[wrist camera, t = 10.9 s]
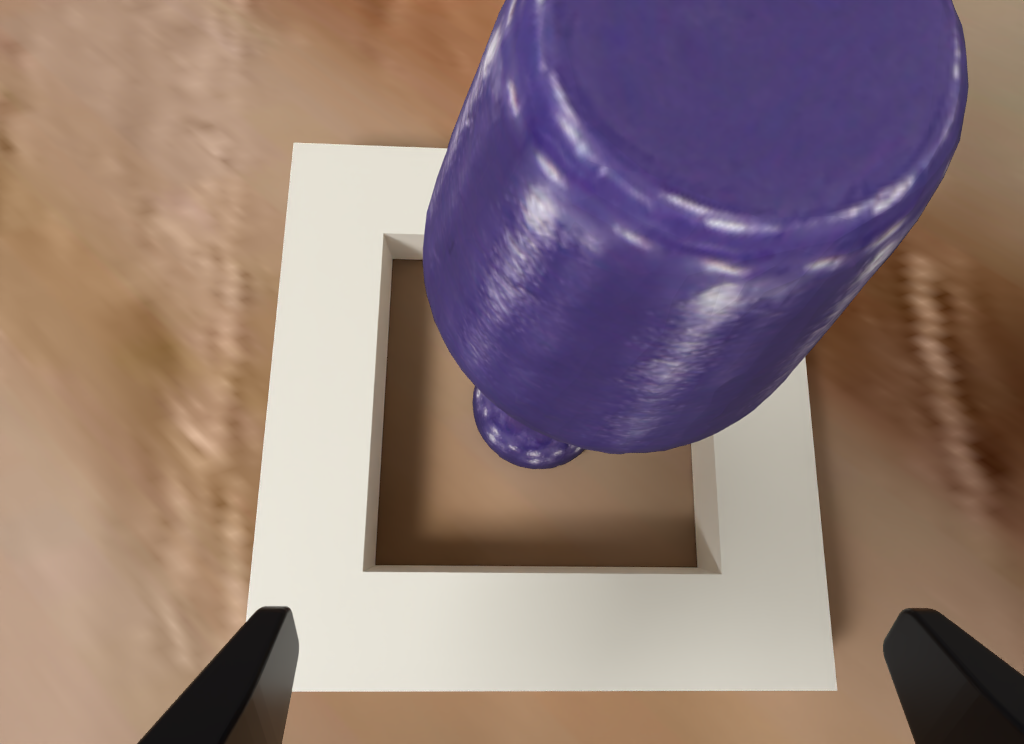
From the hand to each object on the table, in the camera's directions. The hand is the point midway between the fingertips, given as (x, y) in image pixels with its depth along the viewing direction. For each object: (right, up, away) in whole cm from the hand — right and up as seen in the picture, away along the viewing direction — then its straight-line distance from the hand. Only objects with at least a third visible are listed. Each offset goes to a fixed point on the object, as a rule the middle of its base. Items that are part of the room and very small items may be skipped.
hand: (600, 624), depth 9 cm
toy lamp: (-1, +2, +11) cm, 11 cm away
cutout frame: (0, +3, +11) cm, 11 cm away
